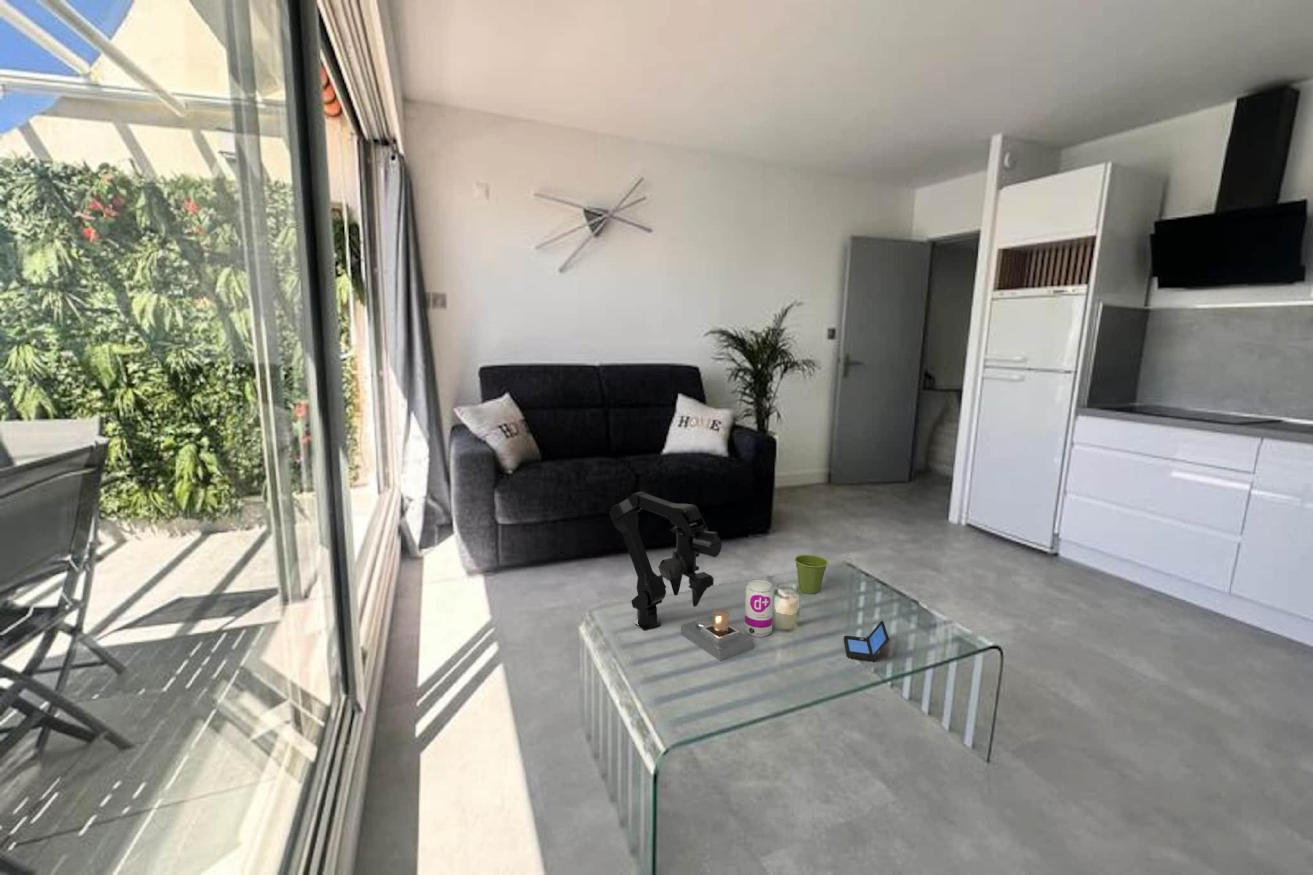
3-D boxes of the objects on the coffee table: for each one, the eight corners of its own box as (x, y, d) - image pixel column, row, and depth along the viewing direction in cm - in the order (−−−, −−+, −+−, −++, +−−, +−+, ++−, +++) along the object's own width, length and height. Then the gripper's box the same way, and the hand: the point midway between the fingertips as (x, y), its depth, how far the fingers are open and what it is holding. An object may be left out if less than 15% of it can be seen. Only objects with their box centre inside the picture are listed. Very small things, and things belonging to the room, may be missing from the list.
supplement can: (771, 639, 171) (773, 590, 169) (743, 636, 173) (745, 588, 171) (771, 626, 179) (773, 580, 177) (744, 624, 181) (746, 578, 179)
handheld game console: (843, 638, 173) (844, 615, 172) (881, 643, 170) (883, 619, 169) (846, 659, 161) (848, 634, 160) (887, 665, 158) (889, 639, 157)
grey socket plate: (680, 634, 173) (681, 620, 173) (711, 624, 180) (712, 610, 179) (720, 660, 158) (720, 645, 158) (752, 648, 165) (752, 634, 165)
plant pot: (793, 595, 203) (795, 564, 201) (791, 582, 214) (793, 553, 213) (828, 598, 201) (830, 567, 199) (824, 585, 213) (826, 556, 211)
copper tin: (709, 638, 168) (710, 612, 167) (721, 634, 170) (721, 608, 169) (719, 644, 164) (720, 618, 163) (731, 640, 167) (732, 614, 166)
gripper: (645, 544, 170) (644, 595, 172) (683, 563, 154) (682, 619, 156) (676, 538, 176) (675, 587, 178) (715, 556, 160) (714, 609, 163)
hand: (685, 600), depth 169 cm, fingers open, 9 cm apart
